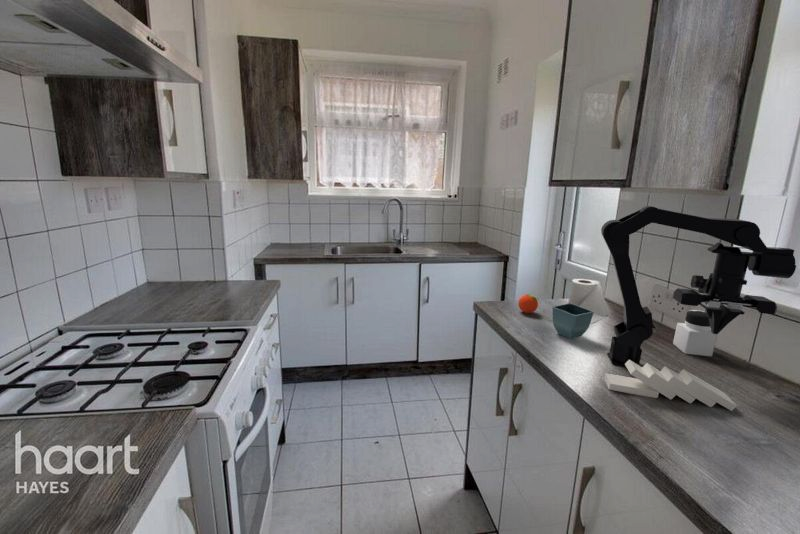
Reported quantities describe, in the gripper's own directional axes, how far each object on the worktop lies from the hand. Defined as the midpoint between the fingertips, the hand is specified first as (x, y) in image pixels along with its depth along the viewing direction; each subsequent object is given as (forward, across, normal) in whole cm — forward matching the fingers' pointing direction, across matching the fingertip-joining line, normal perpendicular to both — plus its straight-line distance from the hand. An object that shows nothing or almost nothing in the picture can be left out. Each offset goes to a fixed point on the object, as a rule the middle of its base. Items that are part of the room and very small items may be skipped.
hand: (714, 333), depth 91 cm
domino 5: (+11, +1, +13) cm, 17 cm away
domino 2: (+11, +12, +13) cm, 21 cm away
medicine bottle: (+12, -4, -18) cm, 22 cm away
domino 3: (+11, +8, +13) cm, 19 cm away
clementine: (+12, +42, -33) cm, 55 cm away
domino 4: (+11, +4, +13) cm, 18 cm away
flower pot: (+12, +30, -16) cm, 36 cm away
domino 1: (+11, +15, +13) cm, 23 cm away
